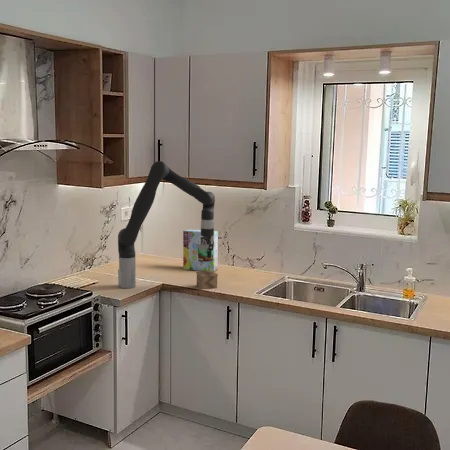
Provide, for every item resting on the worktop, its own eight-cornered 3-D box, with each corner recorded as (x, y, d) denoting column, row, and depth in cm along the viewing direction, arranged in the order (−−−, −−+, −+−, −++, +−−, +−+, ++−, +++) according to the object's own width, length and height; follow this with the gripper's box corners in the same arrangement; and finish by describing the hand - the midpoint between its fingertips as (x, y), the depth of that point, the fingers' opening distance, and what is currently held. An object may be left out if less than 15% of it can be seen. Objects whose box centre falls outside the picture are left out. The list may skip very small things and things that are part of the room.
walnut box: (202, 289, 320) (202, 275, 318) (195, 285, 328) (196, 272, 327) (217, 288, 324) (218, 274, 322) (211, 284, 332) (211, 270, 331)
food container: (204, 263, 317) (204, 245, 315) (196, 261, 321) (196, 244, 319) (219, 259, 326) (219, 242, 324) (211, 258, 330) (211, 241, 328)
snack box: (218, 269, 369) (218, 230, 366) (213, 272, 361) (214, 232, 358) (187, 266, 377) (188, 228, 373) (182, 269, 369) (182, 230, 365)
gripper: (196, 225, 326) (196, 254, 328) (206, 229, 313) (205, 259, 315) (208, 225, 329) (208, 253, 331) (218, 228, 316) (218, 258, 318)
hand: (207, 256), depth 323 cm, fingers closed on food container, 6 cm apart
